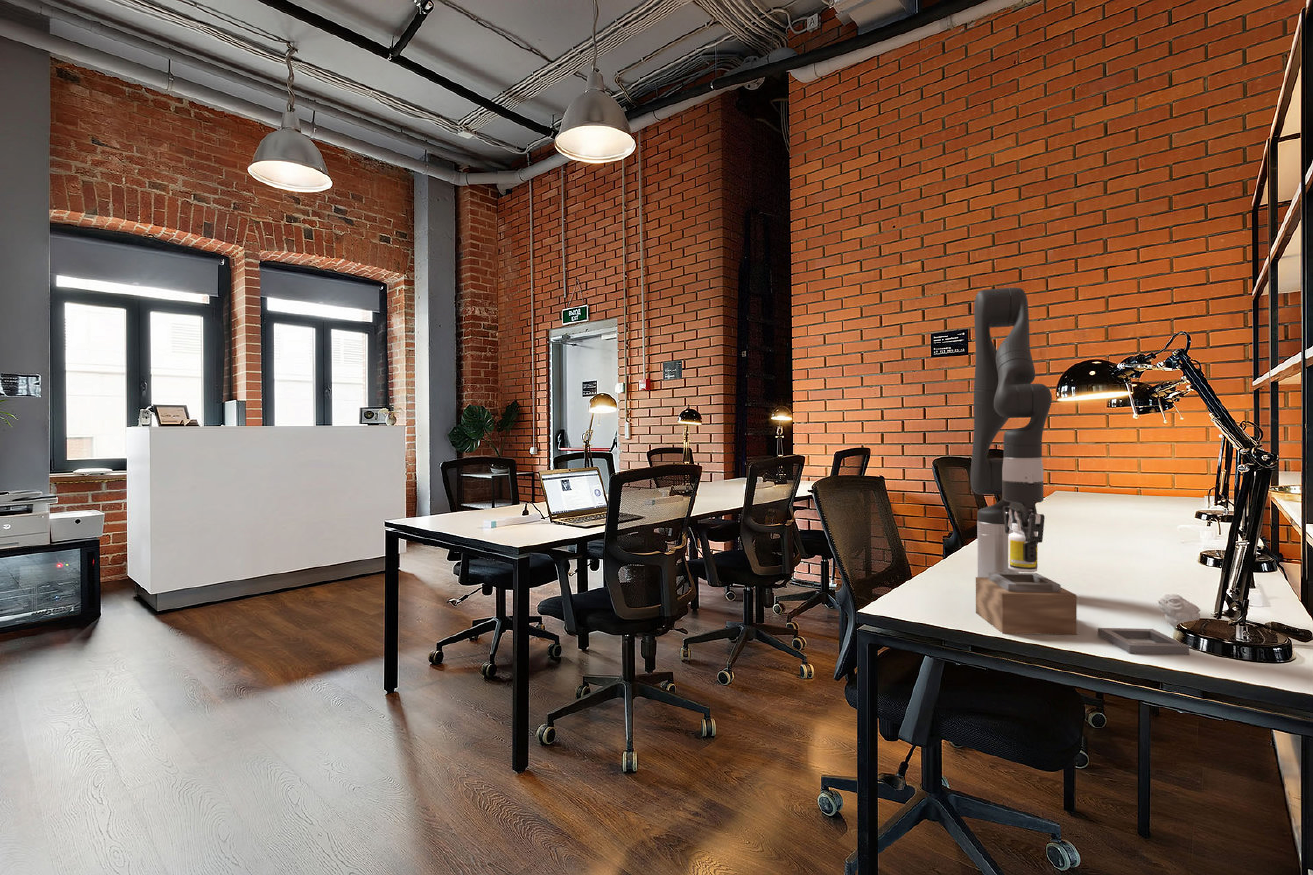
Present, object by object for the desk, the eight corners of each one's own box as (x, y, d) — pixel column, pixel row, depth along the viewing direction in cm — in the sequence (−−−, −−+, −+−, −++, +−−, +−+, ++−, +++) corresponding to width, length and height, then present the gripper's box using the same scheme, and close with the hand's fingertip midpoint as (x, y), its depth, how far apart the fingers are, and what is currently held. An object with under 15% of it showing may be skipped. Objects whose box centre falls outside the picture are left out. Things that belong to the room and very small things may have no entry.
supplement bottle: (1041, 573, 131) (1041, 526, 131) (1013, 572, 132) (1013, 525, 132) (1031, 567, 136) (1031, 522, 136) (1004, 566, 137) (1004, 521, 137)
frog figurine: (1152, 623, 133) (1152, 590, 133) (1192, 625, 131) (1192, 592, 131) (1165, 632, 127) (1165, 597, 127) (1207, 635, 125) (1207, 600, 125)
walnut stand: (975, 612, 142) (975, 570, 142) (1042, 613, 140) (1042, 571, 140) (1002, 633, 128) (1002, 586, 128) (1076, 634, 126) (1076, 587, 126)
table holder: (1098, 635, 126) (1098, 627, 126) (1152, 636, 125) (1152, 628, 125) (1129, 653, 116) (1129, 645, 116) (1189, 654, 115) (1189, 646, 115)
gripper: (989, 476, 141) (990, 551, 142) (1019, 481, 127) (1019, 566, 127) (1025, 475, 140) (1026, 552, 141) (1059, 481, 126) (1059, 566, 126)
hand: (1023, 558), depth 134 cm, fingers closed on supplement bottle, 5 cm apart
